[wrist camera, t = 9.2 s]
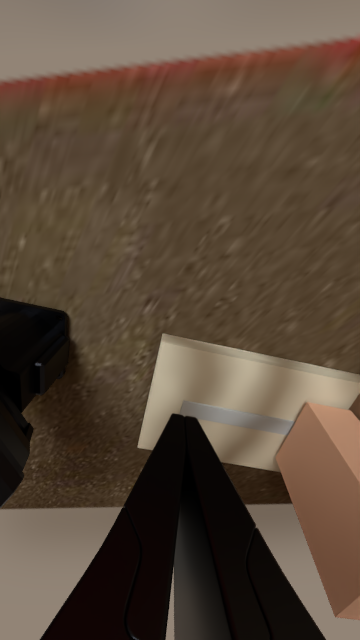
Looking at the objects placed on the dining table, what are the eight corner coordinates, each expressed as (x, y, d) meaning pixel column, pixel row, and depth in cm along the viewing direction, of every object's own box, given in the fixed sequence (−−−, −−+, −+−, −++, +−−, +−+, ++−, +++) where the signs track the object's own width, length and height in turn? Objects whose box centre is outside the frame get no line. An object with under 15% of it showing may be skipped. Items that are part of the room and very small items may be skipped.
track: (139, 434, 25) (120, 534, 17) (162, 333, 20) (149, 408, 12) (312, 464, 26) (365, 569, 19) (371, 377, 22) (475, 468, 14)
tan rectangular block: (275, 457, 23) (335, 617, 14) (307, 401, 20) (407, 555, 11) (314, 464, 23) (397, 624, 14) (350, 410, 21) (483, 567, 12)
